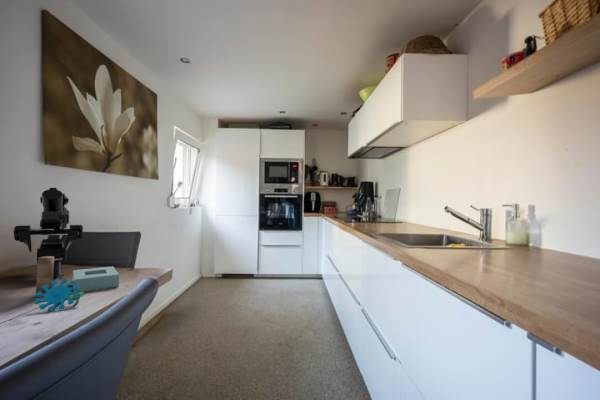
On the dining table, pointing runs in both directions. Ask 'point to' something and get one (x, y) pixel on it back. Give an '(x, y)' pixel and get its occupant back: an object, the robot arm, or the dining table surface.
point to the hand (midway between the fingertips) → (48, 250)
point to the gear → (58, 295)
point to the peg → (44, 273)
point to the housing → (95, 278)
